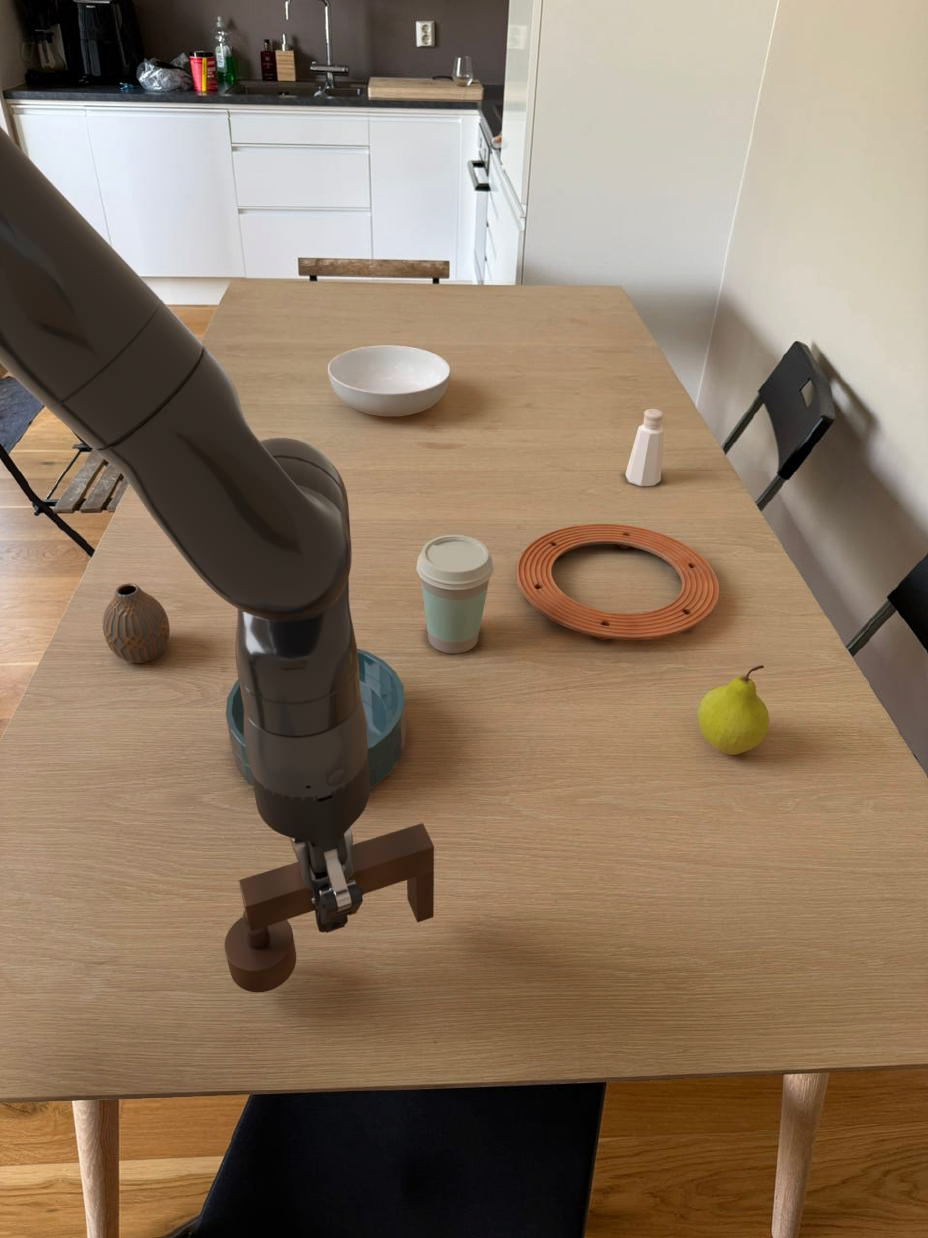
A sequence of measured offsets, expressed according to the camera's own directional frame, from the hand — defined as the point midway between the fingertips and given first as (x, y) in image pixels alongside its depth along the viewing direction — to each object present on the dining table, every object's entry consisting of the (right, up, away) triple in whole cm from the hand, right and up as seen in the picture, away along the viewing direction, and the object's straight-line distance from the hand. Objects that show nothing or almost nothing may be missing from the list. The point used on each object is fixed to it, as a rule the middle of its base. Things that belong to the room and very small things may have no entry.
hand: (327, 908), depth 67 cm
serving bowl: (-3, +59, +88) cm, 106 cm away
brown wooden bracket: (0, -3, +3) cm, 4 cm away
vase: (-26, +18, +34) cm, 47 cm away
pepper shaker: (+38, +43, +70) cm, 91 cm away
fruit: (+37, +9, +25) cm, 46 cm away
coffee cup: (+9, +20, +38) cm, 43 cm away
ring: (+29, +26, +46) cm, 61 cm away
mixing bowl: (-4, +9, +23) cm, 26 cm away
